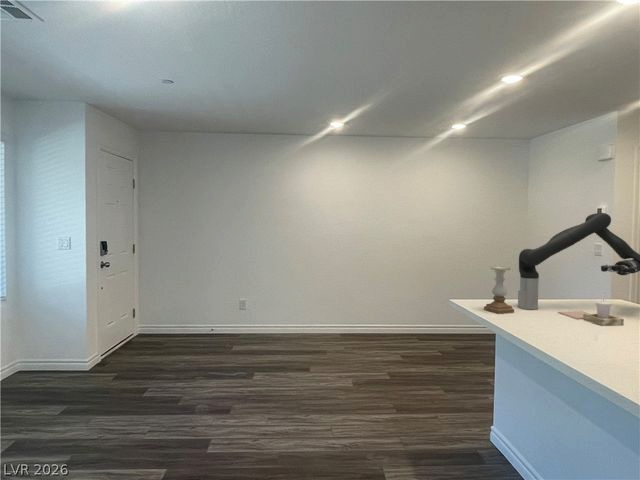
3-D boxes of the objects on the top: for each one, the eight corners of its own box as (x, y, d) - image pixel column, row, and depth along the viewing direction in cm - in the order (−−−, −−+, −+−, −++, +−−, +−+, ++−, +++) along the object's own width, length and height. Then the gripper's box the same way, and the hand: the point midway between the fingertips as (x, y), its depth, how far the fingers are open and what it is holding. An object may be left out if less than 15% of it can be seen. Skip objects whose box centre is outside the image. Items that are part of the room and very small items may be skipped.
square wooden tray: (601, 325, 190) (601, 319, 190) (583, 319, 201) (583, 313, 201) (623, 325, 191) (623, 319, 191) (604, 319, 203) (604, 313, 202)
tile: (576, 319, 202) (576, 317, 202) (557, 313, 216) (557, 311, 216) (602, 318, 204) (602, 317, 204) (581, 312, 218) (581, 311, 218)
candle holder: (499, 308, 227) (500, 266, 226) (514, 312, 217) (515, 268, 216) (483, 309, 224) (484, 266, 223) (498, 314, 213) (499, 268, 212)
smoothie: (608, 321, 198) (609, 293, 198) (612, 324, 192) (614, 295, 192) (592, 320, 200) (594, 292, 200) (597, 323, 194) (598, 294, 194)
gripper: (609, 259, 220) (597, 261, 211) (642, 261, 208) (629, 264, 199) (609, 273, 220) (596, 276, 211) (641, 275, 209) (629, 279, 199)
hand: (612, 270), depth 205 cm, fingers open, 8 cm apart
